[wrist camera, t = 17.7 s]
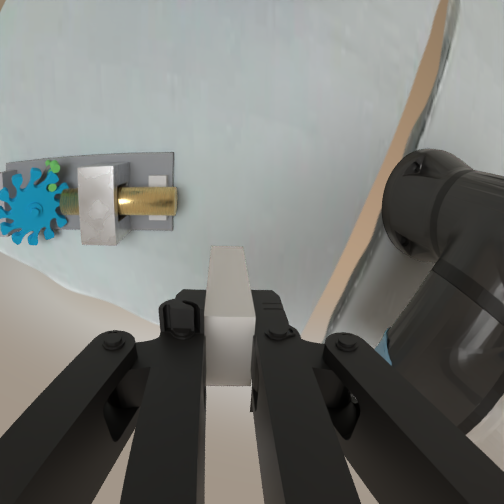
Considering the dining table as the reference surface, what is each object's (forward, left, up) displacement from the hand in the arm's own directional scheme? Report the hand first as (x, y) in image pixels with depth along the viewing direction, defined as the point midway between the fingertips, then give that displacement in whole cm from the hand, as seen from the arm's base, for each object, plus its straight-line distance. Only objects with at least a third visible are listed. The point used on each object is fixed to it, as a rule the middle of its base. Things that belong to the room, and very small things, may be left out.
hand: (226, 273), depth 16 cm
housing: (+18, 0, -22) cm, 29 cm away
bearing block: (+13, 0, -22) cm, 26 cm away
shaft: (+12, 0, -20) cm, 24 cm away
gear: (+22, 0, -22) cm, 31 cm away
